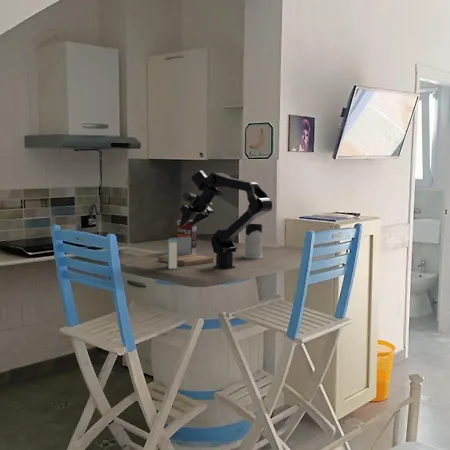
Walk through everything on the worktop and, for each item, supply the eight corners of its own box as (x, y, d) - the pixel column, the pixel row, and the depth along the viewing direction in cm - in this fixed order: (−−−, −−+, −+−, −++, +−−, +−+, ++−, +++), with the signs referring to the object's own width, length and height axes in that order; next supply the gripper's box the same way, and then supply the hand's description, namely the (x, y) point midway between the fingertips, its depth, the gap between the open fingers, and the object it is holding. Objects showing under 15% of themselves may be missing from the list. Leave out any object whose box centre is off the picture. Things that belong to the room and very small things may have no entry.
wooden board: (213, 262, 258) (213, 257, 258) (185, 266, 247) (185, 261, 247) (186, 257, 271) (186, 252, 271) (158, 260, 260) (158, 256, 260)
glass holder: (247, 258, 270) (248, 225, 268) (237, 254, 283) (237, 222, 282) (265, 258, 273) (266, 225, 271) (254, 253, 286) (254, 222, 284)
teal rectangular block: (176, 266, 247) (176, 239, 246) (177, 268, 241) (177, 241, 240) (167, 266, 247) (168, 239, 246) (168, 269, 240) (168, 241, 239)
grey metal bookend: (191, 254, 265) (191, 236, 265) (170, 257, 257) (170, 238, 256) (184, 253, 269) (184, 235, 268) (163, 255, 261) (163, 237, 260)
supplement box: (175, 253, 282) (176, 220, 280) (181, 252, 286) (181, 219, 284) (191, 255, 277) (191, 221, 276) (196, 253, 282) (197, 220, 280)
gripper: (205, 185, 261) (185, 212, 267) (181, 185, 245) (161, 214, 250) (222, 202, 257) (202, 228, 263) (199, 203, 241) (178, 231, 247)
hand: (186, 225), depth 256 cm, fingers open, 9 cm apart
